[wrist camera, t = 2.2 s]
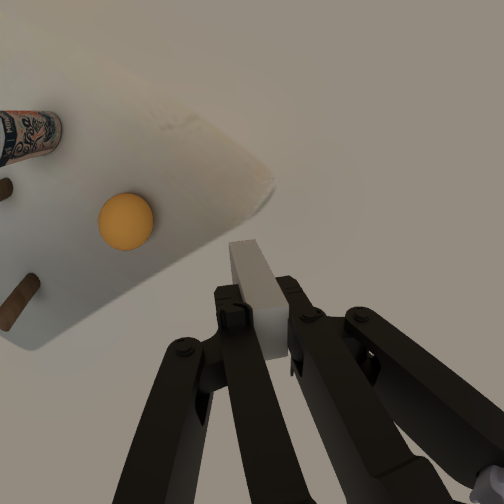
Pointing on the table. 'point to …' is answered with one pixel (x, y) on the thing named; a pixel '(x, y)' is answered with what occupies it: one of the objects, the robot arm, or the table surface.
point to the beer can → (27, 135)
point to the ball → (125, 221)
